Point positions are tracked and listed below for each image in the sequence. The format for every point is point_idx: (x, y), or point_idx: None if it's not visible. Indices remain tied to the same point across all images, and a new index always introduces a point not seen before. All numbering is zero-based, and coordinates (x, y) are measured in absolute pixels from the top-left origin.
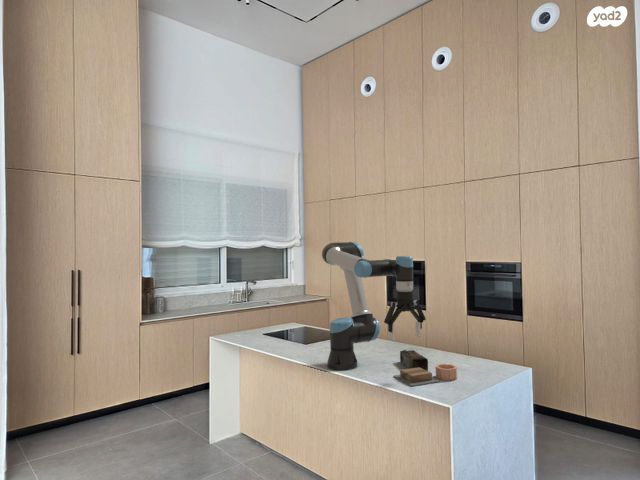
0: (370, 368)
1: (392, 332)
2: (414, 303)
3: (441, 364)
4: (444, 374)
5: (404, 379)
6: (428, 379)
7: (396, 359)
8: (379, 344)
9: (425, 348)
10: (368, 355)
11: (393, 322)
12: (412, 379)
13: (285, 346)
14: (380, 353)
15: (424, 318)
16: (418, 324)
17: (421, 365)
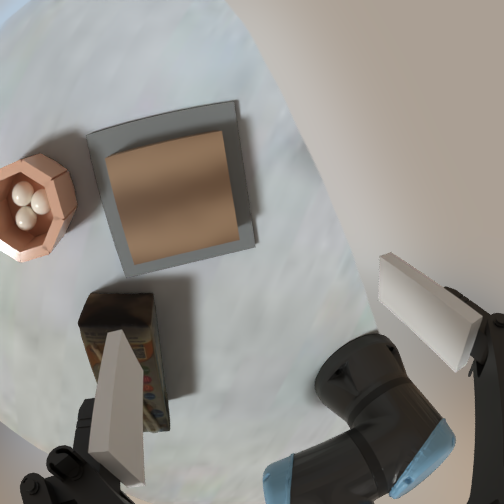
0: (292, 349)
1: (431, 286)
2: None
3: (30, 253)
4: (47, 165)
5: (231, 185)
6: (129, 149)
7: (173, 420)
8: (188, 496)
9: None
10: (245, 446)
11: (496, 338)
12: (217, 130)
13: None
14: (206, 457)
15: (31, 493)
16: (115, 435)
17: (112, 305)
